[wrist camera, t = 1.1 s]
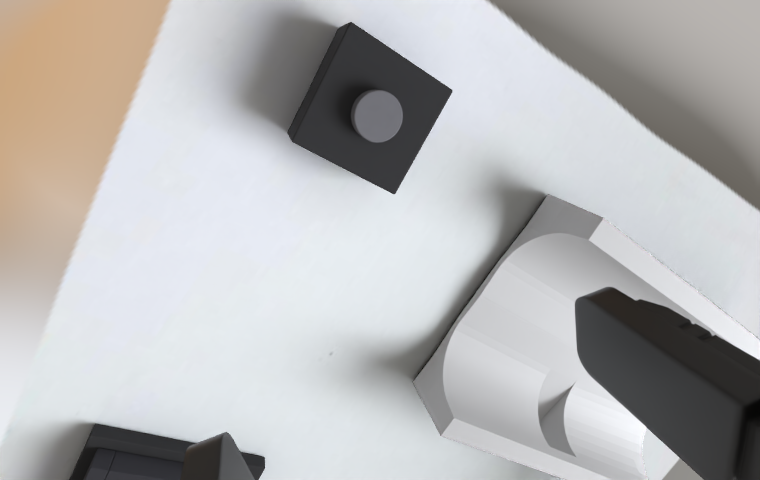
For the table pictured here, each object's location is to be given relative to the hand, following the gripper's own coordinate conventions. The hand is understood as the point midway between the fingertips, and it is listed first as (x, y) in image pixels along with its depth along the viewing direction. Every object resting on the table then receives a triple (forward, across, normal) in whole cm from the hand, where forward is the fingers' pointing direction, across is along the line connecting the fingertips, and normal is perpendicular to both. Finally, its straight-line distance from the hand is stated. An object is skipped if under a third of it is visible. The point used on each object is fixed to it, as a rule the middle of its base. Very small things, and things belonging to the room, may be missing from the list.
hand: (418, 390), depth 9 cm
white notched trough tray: (+17, -15, +21) cm, 31 cm away
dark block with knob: (+17, -4, -4) cm, 18 cm away
